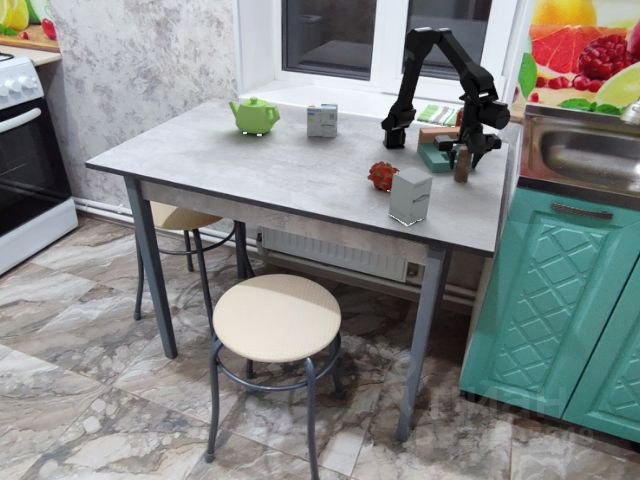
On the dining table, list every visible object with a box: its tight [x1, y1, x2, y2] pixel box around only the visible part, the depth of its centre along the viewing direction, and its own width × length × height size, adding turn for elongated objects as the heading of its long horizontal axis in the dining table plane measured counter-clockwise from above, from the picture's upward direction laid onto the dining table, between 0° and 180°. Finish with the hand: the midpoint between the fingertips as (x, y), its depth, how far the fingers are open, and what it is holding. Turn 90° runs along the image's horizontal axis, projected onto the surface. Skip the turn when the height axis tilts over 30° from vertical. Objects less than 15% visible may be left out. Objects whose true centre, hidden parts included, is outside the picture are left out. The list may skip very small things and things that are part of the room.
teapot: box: [228, 96, 281, 134], centre depth 173 cm, size 20×13×13 cm
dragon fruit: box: [367, 160, 401, 192], centre depth 138 cm, size 8×8×12 cm
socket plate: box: [416, 126, 476, 173], centre depth 155 cm, size 14×17×8 cm
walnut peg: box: [453, 145, 473, 183], centre depth 142 cm, size 4×4×10 cm
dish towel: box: [416, 104, 460, 127], centre depth 189 cm, size 17×23×4 cm
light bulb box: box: [306, 101, 339, 138], centre depth 172 cm, size 11×7×11 cm, turn 83°
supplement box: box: [388, 166, 434, 225], centre depth 123 cm, size 7×7×13 cm
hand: (462, 169), depth 143 cm, fingers open, 6 cm apart
